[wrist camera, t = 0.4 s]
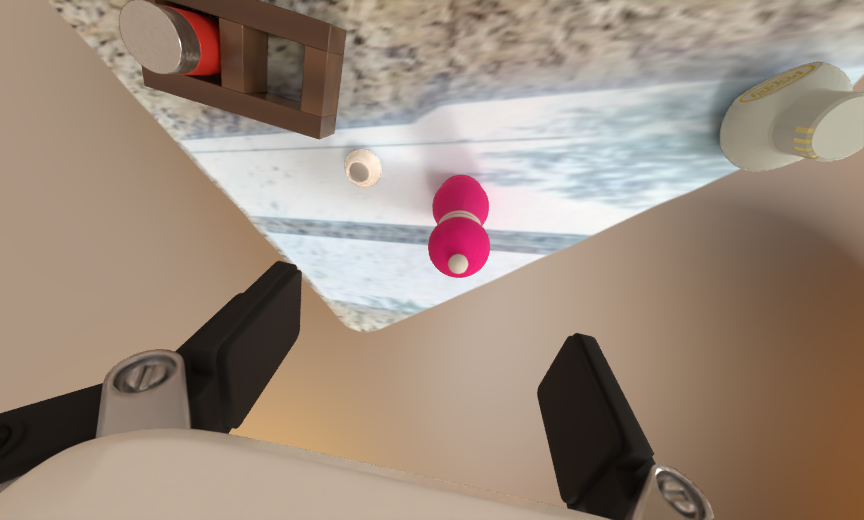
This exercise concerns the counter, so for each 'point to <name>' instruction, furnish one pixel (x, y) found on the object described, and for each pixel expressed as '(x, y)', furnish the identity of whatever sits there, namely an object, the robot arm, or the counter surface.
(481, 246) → the pepper mill
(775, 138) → the air freshener
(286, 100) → the holder
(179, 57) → the can
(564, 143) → the counter surface
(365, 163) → the cream small bowl
